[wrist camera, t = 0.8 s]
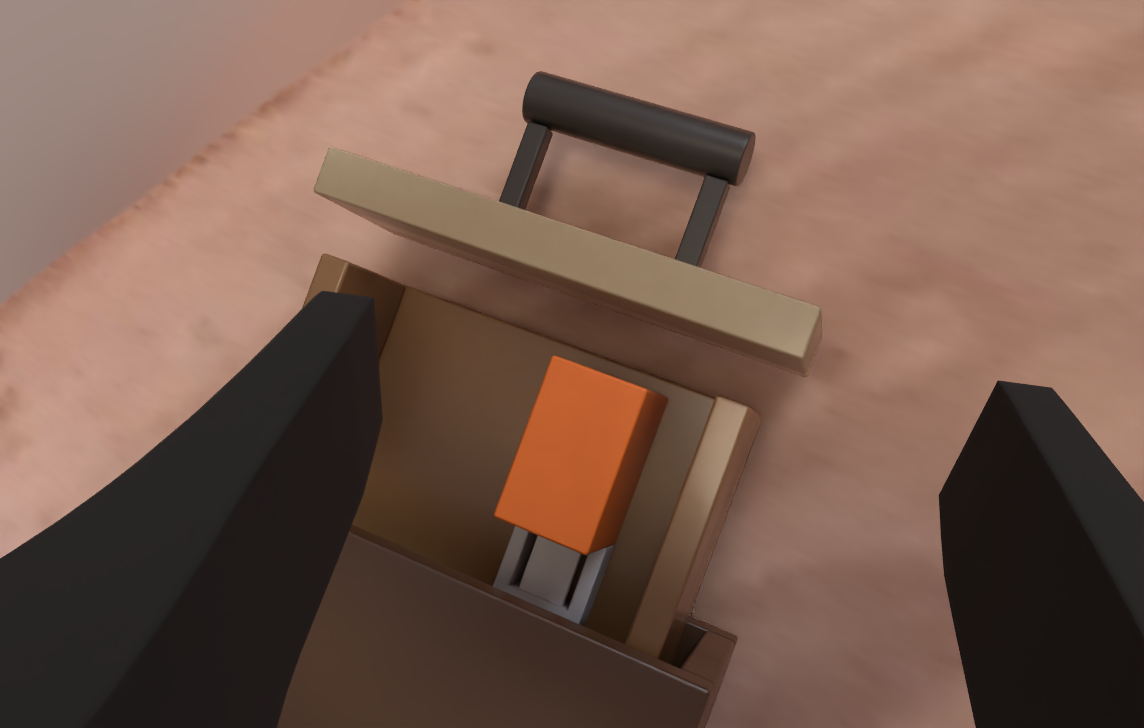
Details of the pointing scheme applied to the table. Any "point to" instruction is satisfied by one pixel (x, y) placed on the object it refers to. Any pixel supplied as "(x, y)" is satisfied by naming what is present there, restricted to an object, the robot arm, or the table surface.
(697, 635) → the cabinet
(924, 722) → the table surface
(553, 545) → the block
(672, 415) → the drawer
